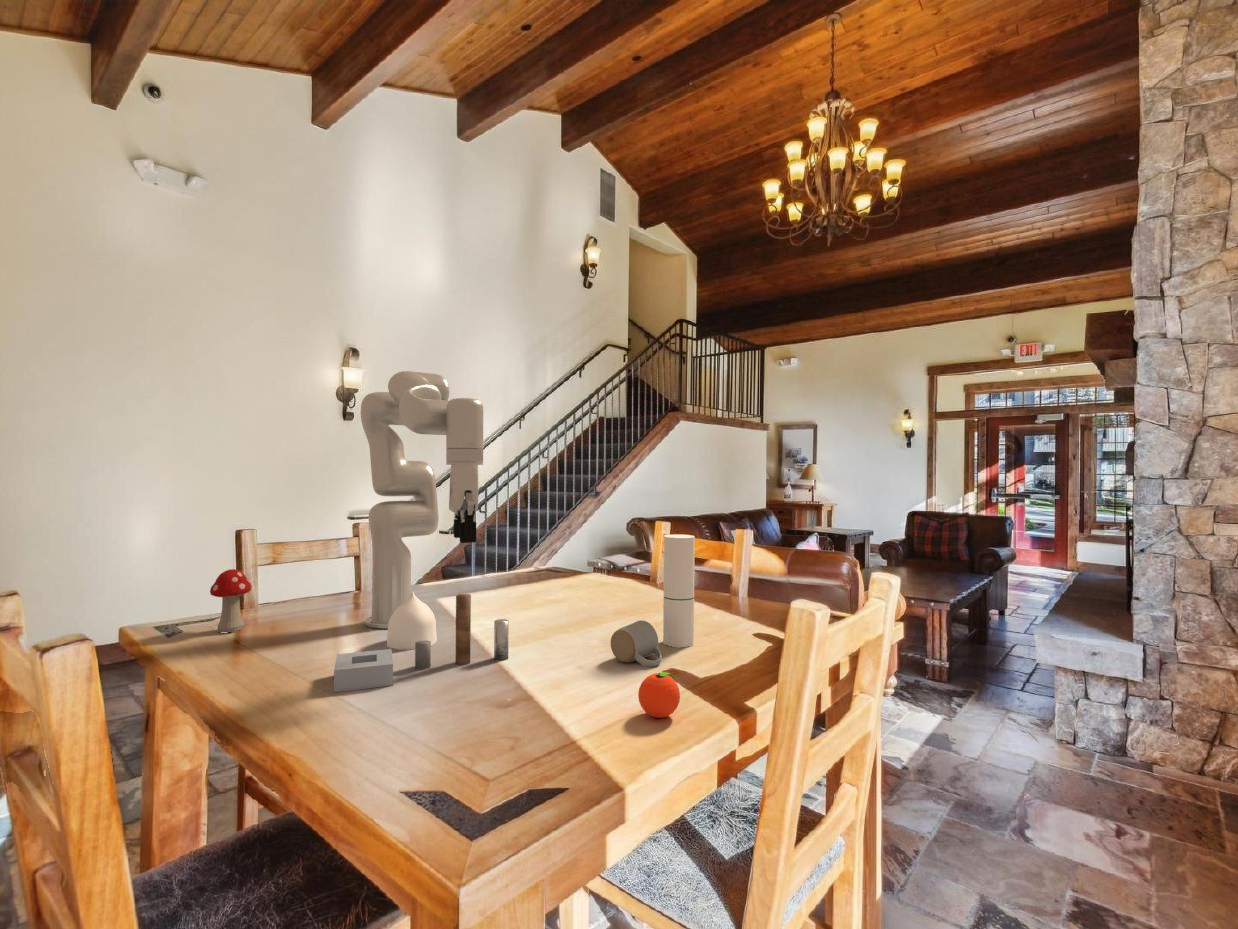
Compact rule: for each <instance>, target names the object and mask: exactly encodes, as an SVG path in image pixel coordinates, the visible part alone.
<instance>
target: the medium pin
mask: <svg viewBox="0 0 1238 929" xmlns="http://www.w3.org/2000/svg"><path fill="white" fill-rule="evenodd" d="M509 624H510V621H509V620H508V619H505V618H499V619H496V620H494V621H493V626H494V627H493V632H494V633H493V635H494V636H493V660H494V661H506V660H508V659H509Z"/></svg>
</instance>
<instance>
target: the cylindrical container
mask: <svg viewBox="0 0 1238 929" xmlns="http://www.w3.org/2000/svg"><path fill="white" fill-rule="evenodd" d="M695 539H696V537H695V535H691V534H664V535H663V606H662V607H663V617H662V618H663V620H662V622H663V624H662V626H663V628H662V629H663V632H662V633H663V634H662V635H663V636H662V643H663V644H664V645H665V644H666V645H665V646H667V645H668V646H667V647H671V646H672V647H671V648H688V646H689V647H692V646H694V644H695V560H696V559H695V548H696V546H695V545H696V544H695V543H696V542H695V541H696V540H695Z"/></svg>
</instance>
